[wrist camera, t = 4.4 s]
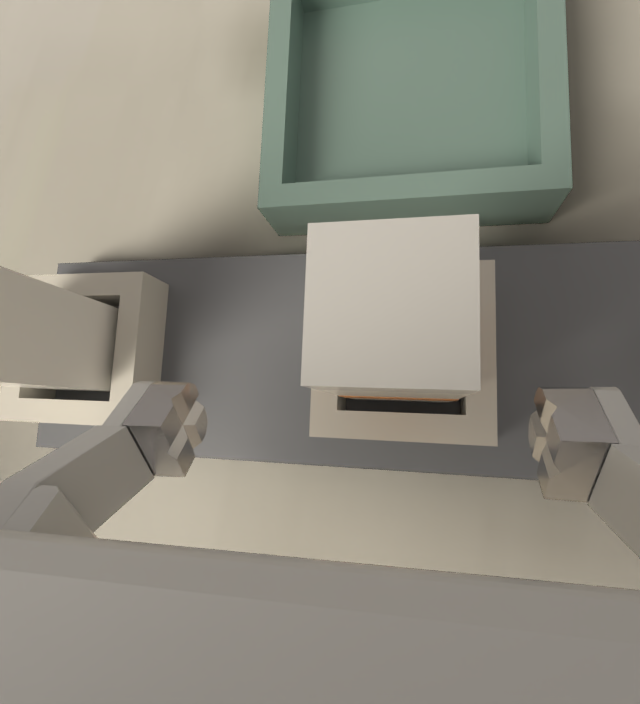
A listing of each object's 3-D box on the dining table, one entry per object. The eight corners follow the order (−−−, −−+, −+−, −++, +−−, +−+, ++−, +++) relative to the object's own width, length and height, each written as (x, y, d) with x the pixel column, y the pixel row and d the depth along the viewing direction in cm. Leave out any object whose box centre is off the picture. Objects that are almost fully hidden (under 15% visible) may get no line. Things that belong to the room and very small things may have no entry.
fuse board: (918, 499, 15) (1064, 524, 12) (56, 444, 22) (-8, 449, 19) (883, 245, 16) (1006, 200, 13) (76, 273, 24) (19, 249, 20)
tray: (548, 222, 19) (572, 187, 16) (279, 235, 21) (257, 207, 19) (540, -25, 20) (561, -97, 18) (290, 15, 23) (272, -42, 20)
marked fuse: (449, 403, 17) (482, 391, 9) (356, 400, 18) (299, 386, 9) (449, 312, 18) (480, 213, 9) (358, 313, 19) (306, 222, 10)
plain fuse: (130, 392, 20) (-85, 375, 12) (64, 390, 21) (-186, 372, 12) (138, 315, 21) (-63, 243, 12) (72, 316, 22) (-162, 248, 13)
